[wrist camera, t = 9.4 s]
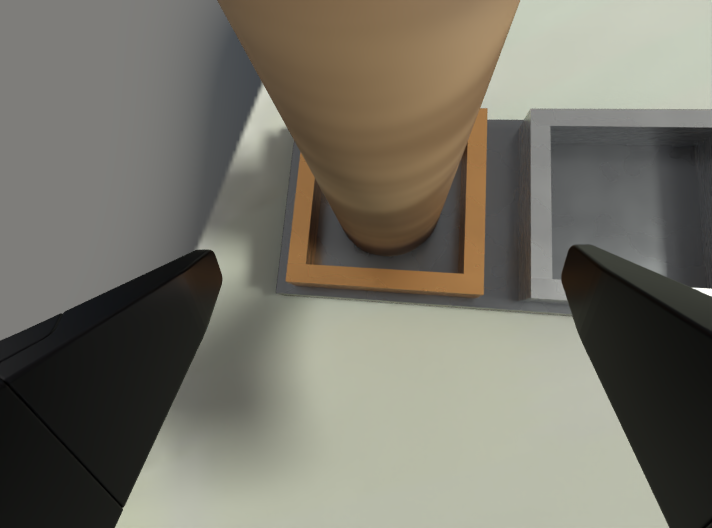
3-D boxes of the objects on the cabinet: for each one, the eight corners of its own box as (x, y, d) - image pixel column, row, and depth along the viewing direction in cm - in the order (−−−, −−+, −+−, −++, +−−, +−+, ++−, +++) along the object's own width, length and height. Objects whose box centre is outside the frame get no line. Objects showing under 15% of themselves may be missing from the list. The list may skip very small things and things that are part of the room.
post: (418, 271, 16) (489, 76, 4) (322, 235, 17) (115, -24, 5) (454, 177, 17) (621, -267, 4) (360, 146, 18) (269, -302, 5)
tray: (715, 133, 17) (768, 100, 15) (734, 327, 15) (797, 327, 13) (301, 128, 20) (288, 99, 17) (282, 294, 18) (264, 289, 16)
